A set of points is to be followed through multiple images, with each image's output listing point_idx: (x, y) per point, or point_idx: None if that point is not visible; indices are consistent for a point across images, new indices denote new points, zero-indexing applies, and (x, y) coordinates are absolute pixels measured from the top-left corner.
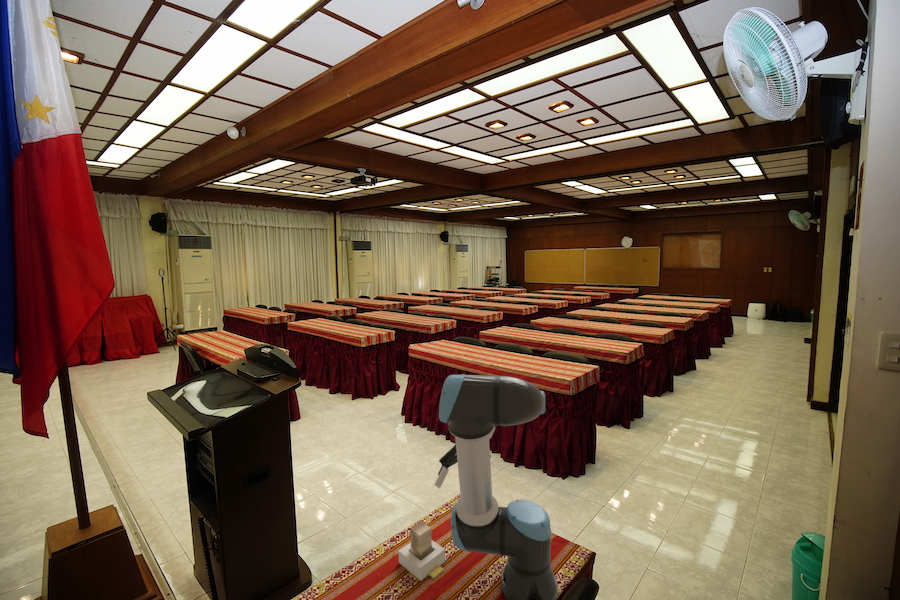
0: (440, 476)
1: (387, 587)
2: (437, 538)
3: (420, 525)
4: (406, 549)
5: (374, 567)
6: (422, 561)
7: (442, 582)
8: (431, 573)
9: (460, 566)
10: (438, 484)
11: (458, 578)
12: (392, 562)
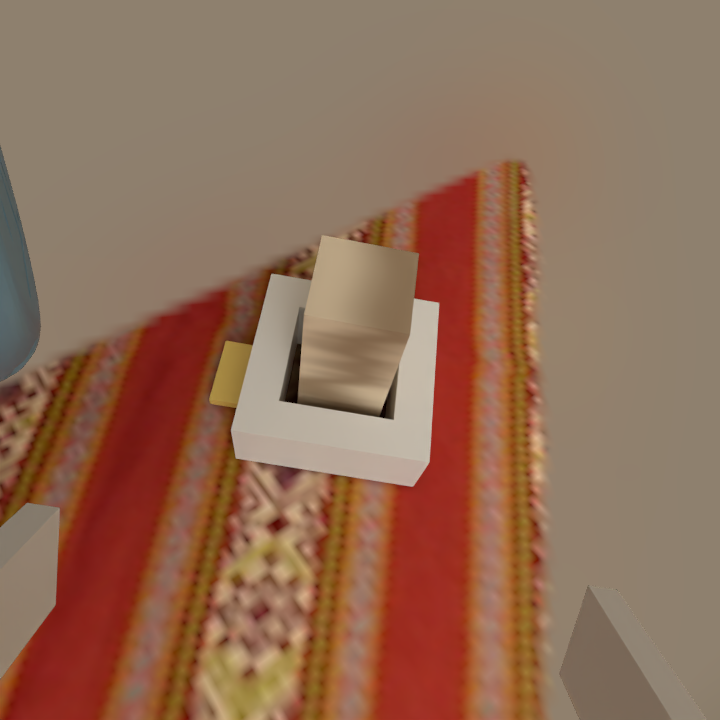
0: (653, 699)
1: (368, 240)
2: (389, 586)
3: (385, 302)
4: (413, 326)
5: (487, 281)
6: (288, 307)
7: (180, 355)
8: (247, 351)
9: (144, 478)
10: (589, 646)
11: (118, 409)
12: (451, 331)
